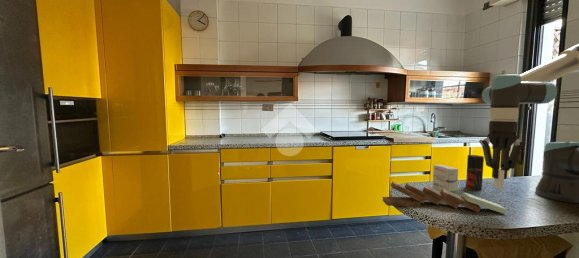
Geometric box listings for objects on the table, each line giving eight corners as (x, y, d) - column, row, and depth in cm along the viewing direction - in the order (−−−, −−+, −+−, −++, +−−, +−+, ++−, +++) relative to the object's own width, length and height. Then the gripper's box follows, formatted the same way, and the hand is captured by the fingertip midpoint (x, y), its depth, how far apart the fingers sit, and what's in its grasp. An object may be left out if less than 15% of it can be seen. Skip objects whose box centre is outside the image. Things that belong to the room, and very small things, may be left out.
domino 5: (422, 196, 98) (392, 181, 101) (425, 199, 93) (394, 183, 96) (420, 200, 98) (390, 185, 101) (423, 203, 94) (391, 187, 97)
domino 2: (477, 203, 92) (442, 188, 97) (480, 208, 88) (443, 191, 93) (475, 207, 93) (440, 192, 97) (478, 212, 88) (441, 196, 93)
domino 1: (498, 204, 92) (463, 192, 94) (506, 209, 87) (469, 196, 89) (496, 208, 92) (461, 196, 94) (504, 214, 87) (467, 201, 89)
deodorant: (485, 190, 113) (487, 157, 112) (471, 190, 113) (473, 157, 112) (475, 186, 119) (477, 155, 118) (462, 186, 119) (464, 154, 118)
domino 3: (459, 201, 95) (425, 184, 101) (459, 204, 90) (424, 187, 97) (456, 205, 95) (423, 188, 101) (456, 208, 91) (422, 191, 97)
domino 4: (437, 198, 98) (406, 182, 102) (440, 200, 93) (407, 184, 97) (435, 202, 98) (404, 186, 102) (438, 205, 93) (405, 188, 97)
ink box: (457, 197, 104) (459, 168, 104) (447, 197, 103) (449, 169, 103) (441, 190, 113) (442, 164, 112) (431, 191, 112) (432, 164, 111)
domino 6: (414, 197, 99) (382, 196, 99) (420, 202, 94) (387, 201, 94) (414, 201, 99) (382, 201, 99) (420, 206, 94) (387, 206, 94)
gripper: (518, 120, 90) (513, 186, 92) (476, 119, 93) (472, 183, 94) (533, 121, 83) (527, 192, 84) (487, 120, 85) (482, 189, 87)
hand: (498, 187), depth 89 cm, fingers closed
